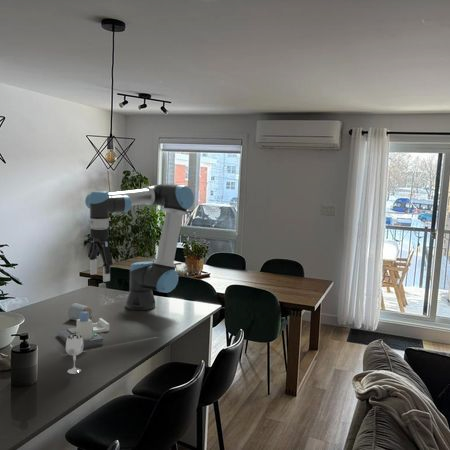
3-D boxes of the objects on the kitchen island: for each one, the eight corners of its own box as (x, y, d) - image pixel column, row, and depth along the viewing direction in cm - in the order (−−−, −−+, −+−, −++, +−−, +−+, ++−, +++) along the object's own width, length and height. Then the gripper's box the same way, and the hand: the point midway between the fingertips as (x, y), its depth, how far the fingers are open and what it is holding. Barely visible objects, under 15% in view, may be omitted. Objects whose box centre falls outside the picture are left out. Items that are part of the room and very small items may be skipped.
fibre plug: (87, 342, 181) (88, 310, 179) (91, 345, 177) (92, 313, 176) (76, 344, 178) (76, 312, 177) (80, 347, 174) (80, 315, 173)
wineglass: (67, 367, 156) (68, 333, 155) (84, 367, 157) (85, 334, 156) (63, 374, 151) (63, 339, 149) (80, 374, 151) (81, 340, 150)
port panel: (86, 332, 192) (86, 324, 191) (102, 345, 177) (103, 337, 177) (57, 336, 185) (57, 328, 184) (72, 351, 170) (72, 342, 170)
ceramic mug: (82, 324, 201) (83, 307, 200) (67, 321, 204) (67, 305, 203) (96, 318, 211) (97, 302, 210) (81, 315, 214) (82, 299, 213)
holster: (101, 325, 200) (101, 318, 200) (109, 332, 193) (109, 323, 193) (82, 328, 195) (82, 320, 195) (90, 335, 188) (90, 326, 188)
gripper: (79, 225, 197) (80, 272, 199) (103, 232, 177) (103, 285, 180) (96, 224, 201) (96, 270, 204) (121, 231, 182) (121, 282, 185)
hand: (99, 277), depth 192 cm, fingers open, 13 cm apart
